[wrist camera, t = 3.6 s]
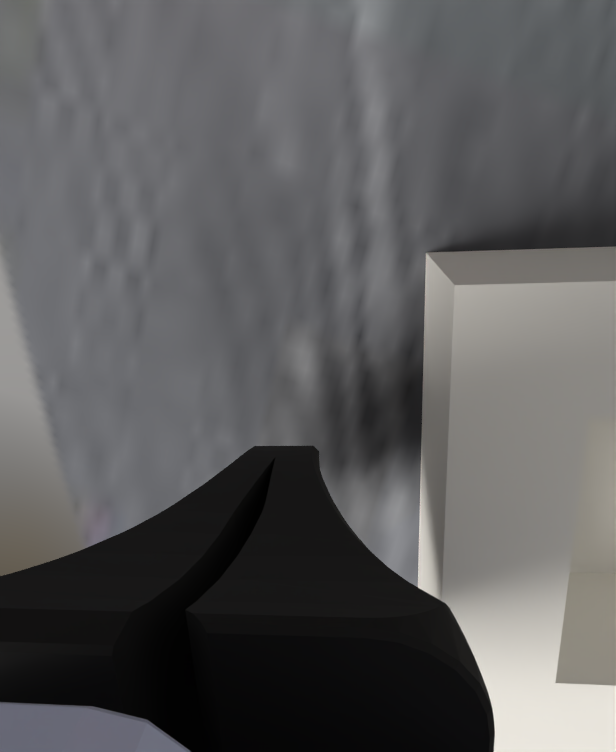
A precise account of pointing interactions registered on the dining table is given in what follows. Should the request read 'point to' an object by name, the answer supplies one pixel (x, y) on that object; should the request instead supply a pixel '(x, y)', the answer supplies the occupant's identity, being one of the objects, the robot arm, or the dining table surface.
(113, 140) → the dining table surface
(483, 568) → the block
